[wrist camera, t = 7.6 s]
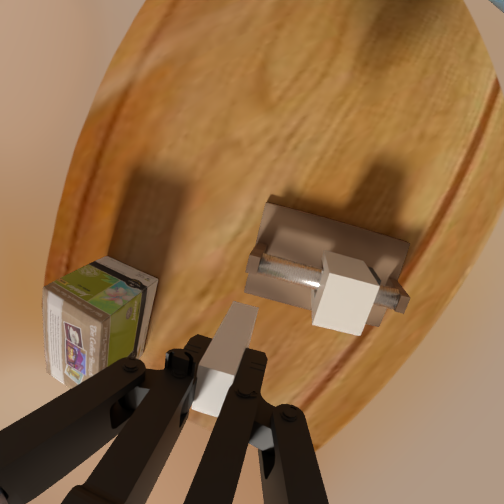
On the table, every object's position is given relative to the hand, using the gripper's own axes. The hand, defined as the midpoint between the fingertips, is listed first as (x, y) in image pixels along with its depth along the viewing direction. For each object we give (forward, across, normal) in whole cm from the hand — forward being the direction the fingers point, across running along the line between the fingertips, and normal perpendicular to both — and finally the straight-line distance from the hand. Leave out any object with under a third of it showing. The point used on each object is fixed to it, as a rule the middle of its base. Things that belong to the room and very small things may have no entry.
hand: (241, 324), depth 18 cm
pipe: (+18, +7, -2) cm, 19 cm away
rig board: (+23, +7, -2) cm, 24 cm away
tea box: (+23, -21, -16) cm, 35 cm away
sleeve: (+19, +8, -2) cm, 21 cm away
